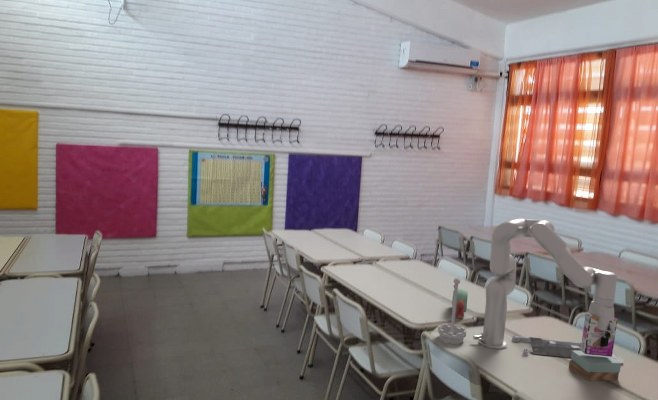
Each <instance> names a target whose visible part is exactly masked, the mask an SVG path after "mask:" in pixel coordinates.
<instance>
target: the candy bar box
mask: <svg viewBox="0 0 658 400" xmlns="http://www.w3.org/2000/svg"><path fill="white" fill-rule="evenodd" d="M584 314H585V315H584V324H583V330H582V337H581V342H580V343H581V351H582V352H583V353H584V354H590V355H600V356H610V357H612V353H613V352H614V345H615V338H616V333H615V334H613V335H612V336H611V337H610V338H609V341H608V346H605V347H602V346H600V344H601V337H603V334H602V331H601V330H599V329H598V328H597V326H598V317H597V316H595V315H593V314H590V313H588V312H585V313H584ZM617 325H618V318H616V316H614V325H613V327H614V329H615V331H616V332H617ZM605 333H606V334H607V331H605Z"/></svg>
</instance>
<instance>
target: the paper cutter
mask: <svg viewBox="0 0 658 400" xmlns="http://www.w3.org/2000/svg"><path fill="white" fill-rule="evenodd" d="M511 340H512V342H513V343H516V342H518V343H528V344H529V343H530V345H531V349H532V354H535V355H542V356H543V355H544V356H553V357H562V358H570V359H571V354H572V350H573V351H581V342H579V341H577V342H576V341H569V340H567V341H566V340H560V339H549V338H541V337H533V336H529V337H527V336H518V335H515V334H514V335H512V339H511ZM522 355H523V356H529V351H528V348H524V349H523V351H522ZM612 358H614V359H616V360H617V361H619V362H620V363H621V364H623V363H624V360H623V358H621V356H619V355H617V354H615V353H613V352H612Z"/></svg>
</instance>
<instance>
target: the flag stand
mask: <svg viewBox="0 0 658 400" xmlns="http://www.w3.org/2000/svg"><path fill="white" fill-rule="evenodd" d="M460 283H461V280H460V279H459V278H458V277H456V278H454V279H453V284H454V285H453V289H454V290H453V291H454V299H453V298H452V299H453V307H452V310H451V322H450V325H449V324H448V323H442V325H438V326H437V327H438V328H437V333H438V334H439V340H441V341H442V340H443V341H442V342H444V341H445V342H444V343H446V342H447V344H450V343H451V344H452V345H459V344H460V343H461V344H463V343H462V342H464V339H465V338H466V337H467V330H466V328H465V327H464V326H460V327H458V324H456V323H455V322H456V317H455V313H456V302H457V292H458V289H459V284H460Z"/></svg>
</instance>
